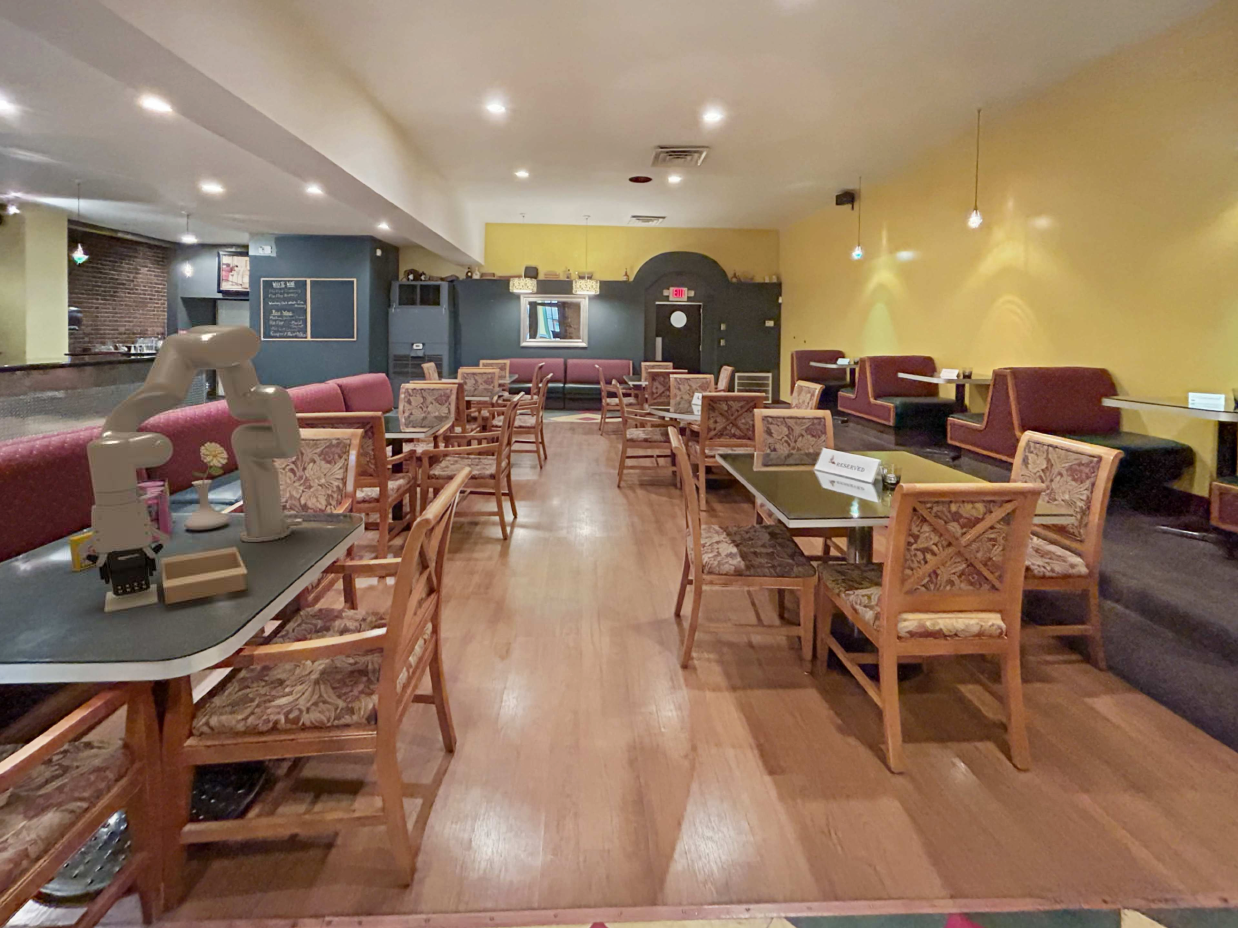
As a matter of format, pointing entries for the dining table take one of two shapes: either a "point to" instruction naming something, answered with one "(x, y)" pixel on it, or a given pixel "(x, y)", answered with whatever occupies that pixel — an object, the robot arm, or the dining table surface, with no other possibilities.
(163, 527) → the gum box
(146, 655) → the dining table surface
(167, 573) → the carton
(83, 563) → the candy box
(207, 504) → the flower in vase
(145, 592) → the mat
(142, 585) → the battery charger
